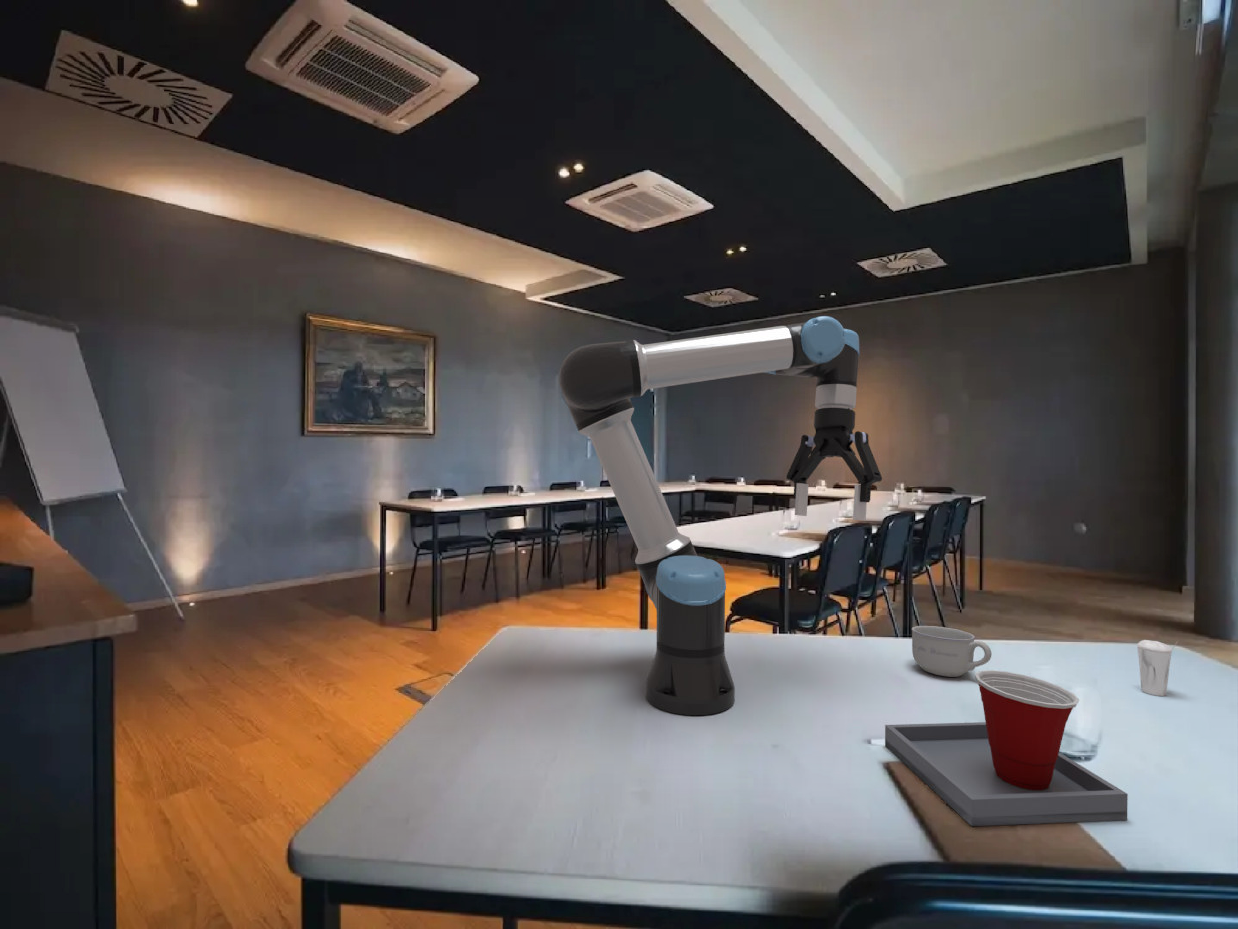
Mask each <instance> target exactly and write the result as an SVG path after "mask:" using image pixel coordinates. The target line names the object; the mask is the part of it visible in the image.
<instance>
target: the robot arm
mask: <svg viewBox="0 0 1238 929" xmlns="http://www.w3.org/2000/svg"><path fill="white" fill-rule="evenodd" d="M859 358H860V337H859V335H858V333H857V332H856V331H854V330H853V329H849V328H848V329H847V328H844V326H843V325H842V324H841V323H840V321H839V320H838V319H835V318H834V317H832V316H827V315H823V316H822V315H821V316H817V317H813V318H811V319H809V320H807V321H805V322H800V323H794V324H793V323H792V324H786V325H779V326H778V325H777V326H772V327H771V326H770V327H765V328H764V327H763V328H755V329H749V330H742V331H735V332H727V333H721V334H713V335H706V336H699V337H690V338H683V339H678V340H677V339H676V340H670V341H663V342H662V341H661V342H655V343H648V344H647V343H646V344H642V343H640V342H638V341H637V340H636V339H631V340H623V341H615V342H603V343H592V344H586V345H583V346H579V347H577V348H576V349H574V350H572V351H571V352H570V353H568V355H567V356H566V357H565V359H564V360H563V361H562V364H561V366H560V369H559V373H558V382H559V387H560V394H561V397H562V399H563V401H564V404H565V405H566V406H567V409H568V410H569V412H570V415H571V417H572V419H573V422H574V423H575V426H576V428H577V431H578V433H579V434H581V435H583V436H585V437H588V438H589V439H590V441H591V444H592V446H593V448H594V450H595V453H596V455H597V457H598V460H599V461H600V462H599V463H600V465H601V466H602V469H603V471H604V473H605V476H606V479H607V480H608V482H609V485H610V487H611V490H612V491H613V494H614V497H615V500H616V502H617V504H618V506H619V508H620V510H621V513H622V515H623V517H624V520H625V521H626V522H625V523H626V525H627V527H628V528H629V532H630V533H631V536H632V538H633V541H634V543H635V545H636V547H637V549H638V551H637V554H636V557H635V560H634V562H635V564H636V567H637V569H638V572H639V574H640V577H641V579H642V580H643V584H644V586H645V591H646V593H647V596H648V598H649V599H650V601H651V602H652V603H653V605H654V607H655V609H656V651H655V654H654V657H653V661H652V663H651V667H650V671H649V673H648V675H647V679H646V682H645V685H646V686H645V697H646V700H647V701H648V702H649V703H650V704H651V705H652V706H654V707H655V708H658V709H660V710H662V711H665V712H669V713H672V714H677V715H678V714H679V715H687V716H705V715H707V716H708V715H715V714H718V713H721V712H724V711H726V710H728V709H730V708H731V707H732V706H734V704H735V698H736V696H735V694H736V691H735V690H736V689H735V684H734V680H733V677H732V673H731V671H730V668H729V664H728V661H727V658H726V654H725V642H726V641H725V638H726V637H725V634H726V632H725V631H726V627H725V625H726V624H725V623H726V622H725V621H726V617H725V616H726V615H725V614H726V590H727V582H726V579H725V578H726V577H725V576H726V575H725V569H724V568H723V567H722V565H721V564H720V563H719V562H717V561H716V560H713V559H711V558H706V557H703V556H700V555H698V554H697V552H696V549H695V547H694V545H693V542H692V541H691V538H690V537H689V536H686V535H684V534H681V533H680V532H679V530H678V528H677V525H676V523H675V520H674V519H673V516H672V514H671V512H670V509H669V507H668V504H667V502H666V499H665V497H664V494H663V493H662V490H661V488H660V486H659V484H658V481H657V479H656V477H655V474H654V471H653V469H652V467H651V465H650V463H649V460H648V458H647V455H646V452H645V451H644V448H643V446H642V444H641V441H640V440H639V436H638V435H637V432H636V429H635V426H634V425H633V423H632V421H631V420H632V417H633V416H632V415H633V414H634V411H635V407H634V405H633V403H632V401H631V398H636V397H637V398H638V397H642V396H643V395H644V394H645V393H646V392H647V391H648V390H652V389H659V388H664V387H665V388H666V387H671V386H672V387H673V386H678V385H685V384H692V383H699V382H706V381H712V380H714V381H715V380H719V379H727V378H733V377H739V376H740V377H741V376H747V375H754V374H761V373H765V374H771V375H773V376H777V375H778V376H780V375H781V376H790V377H792V376H793V377H802V378H810V379H816V384H815V385H816V386H815V387H816V388H815V401H814V407H815V408H816V410H815V411H814V418H813V428H814V430H815V434H814V436H812V435H806V434H803V435H802V436H801V438H800V445H799V447H798V449H797V452H796V454H795V456H794V458H793V460H792V463H791V465H790V468H789V469H788V471H787V473H786V480H789V481H792V482H793V483H794V484H793V485H794V486H793V499H795V502H794V505H795V506H794V516H801V517H807V516H808V515H807V514H808V499H809V498H808V497H809V485H810V484H809V483H808V482H807V481H808V479H809V478H810V477H811V476H812V474H813V473H814V472H815V470H816V469H817V468H818V466H819V464H821V462H822V461H823V460H825V459H826V458H834V457H836V458H842V459H843V461H844V462H845V464H846V466H848V468H849V470H850V471H851V473H852V474H853V476H854V477H855V478H856V480H857V481H858V482H857V483H855V484H854V492H853V493H854V495H853V511H852V512H853V513H852V514H853V515H852V520H855V521H864V522H866V519H867V505H868V504H867V503H870V502H871V495H872V494H871V492H872V485H873V484H876V483H878V482H879V483H880V482H881V481H882V480H883V477H882V475H881V472H880V469H879V467H878V464H877V462H876V460H875V456H874V455H873V452H872V449H871V447H870V445H869V444H870V442H869V434H868V433H867V432H863V431H859V430H857V431H855V432H854V433H853V431H854V430H855V428H856V426H855V425H856V424H855V423H856V412H855V411H854V410H853V409H856V404H857V389H858V388H857V387H858V384H857V382H858V372H859ZM853 443H854V446H855V449H856V450H857V453H858V457H859V459H860V460H859V459H858V458H857V456H856V455H857V454H856V452H855V451H854V450H853V448H852V444H853Z"/></svg>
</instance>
